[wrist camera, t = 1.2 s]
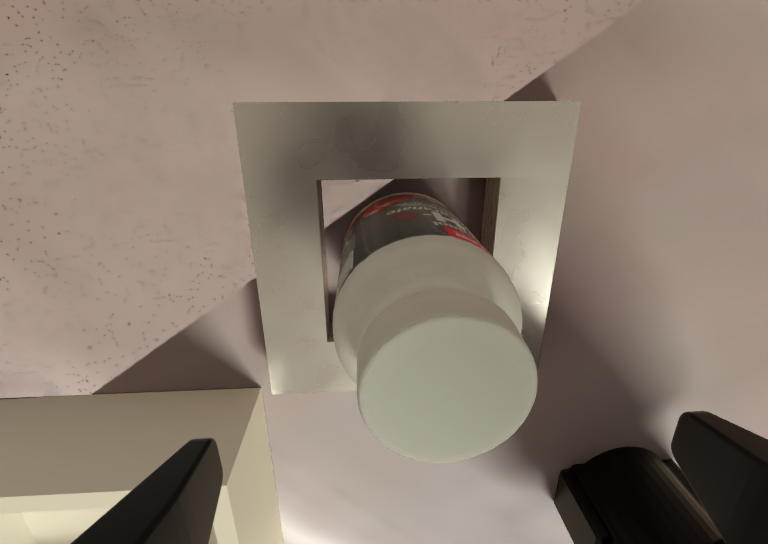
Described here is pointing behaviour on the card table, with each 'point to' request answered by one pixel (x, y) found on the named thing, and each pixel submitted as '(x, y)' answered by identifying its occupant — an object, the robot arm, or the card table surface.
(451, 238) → the pill bottle
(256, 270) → the socket block
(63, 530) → the bin
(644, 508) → the robot arm
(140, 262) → the card table surface
